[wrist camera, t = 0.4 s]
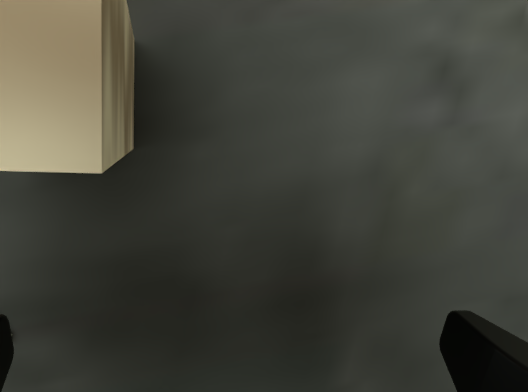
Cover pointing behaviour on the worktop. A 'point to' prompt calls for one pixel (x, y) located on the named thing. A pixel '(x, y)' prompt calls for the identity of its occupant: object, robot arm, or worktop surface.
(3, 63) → the pine post
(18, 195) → the worktop surface
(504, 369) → the robot arm
